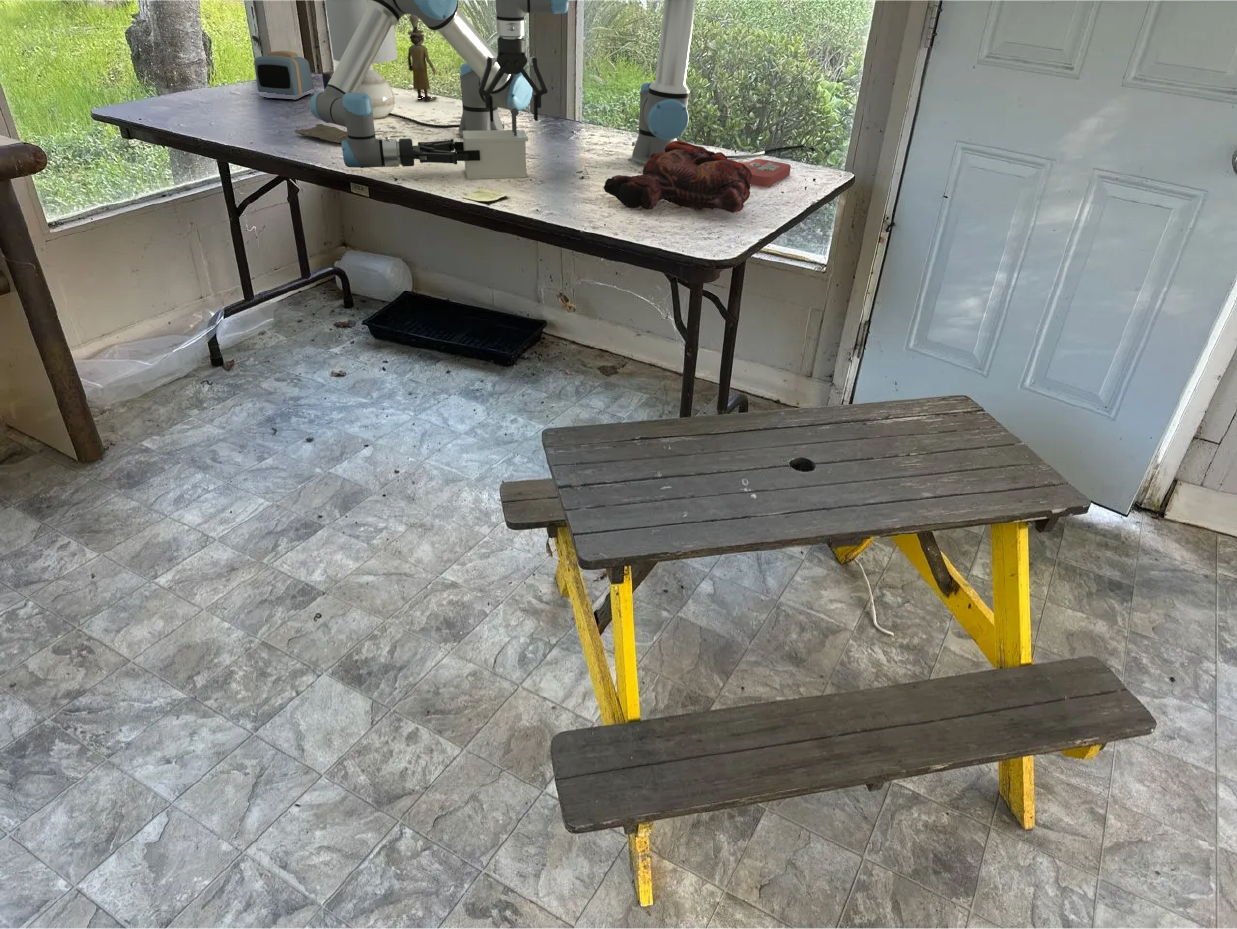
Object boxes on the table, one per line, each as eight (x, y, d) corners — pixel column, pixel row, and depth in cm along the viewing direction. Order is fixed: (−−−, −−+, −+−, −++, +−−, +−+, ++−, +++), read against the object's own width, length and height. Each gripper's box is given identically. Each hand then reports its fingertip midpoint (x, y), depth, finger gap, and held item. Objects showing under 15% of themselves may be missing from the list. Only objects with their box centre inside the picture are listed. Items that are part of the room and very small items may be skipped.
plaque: (748, 154, 263) (793, 162, 256) (746, 167, 265) (791, 175, 258) (722, 166, 250) (769, 175, 244) (721, 179, 252) (767, 189, 246)
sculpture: (769, 218, 227) (775, 169, 218) (687, 248, 212) (691, 197, 203) (663, 172, 252) (665, 126, 244) (583, 196, 237) (582, 148, 229)
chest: (522, 168, 256) (521, 133, 251) (526, 177, 249) (525, 141, 243) (465, 170, 253) (462, 134, 247) (467, 179, 246) (465, 142, 240)
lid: (523, 133, 251) (523, 102, 246) (528, 141, 243) (527, 109, 238) (462, 134, 247) (460, 102, 243) (465, 142, 240) (462, 110, 235)
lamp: (416, 115, 310) (403, -11, 287) (372, 125, 294) (355, -7, 272) (373, 106, 319) (358, -16, 296) (328, 116, 304) (309, -13, 281)
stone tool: (292, 135, 280) (343, 148, 268) (291, 126, 278) (342, 139, 267) (320, 129, 287) (370, 142, 276) (318, 120, 286) (369, 133, 274)
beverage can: (339, 109, 314) (334, 74, 307) (318, 108, 314) (312, 73, 307) (346, 104, 321) (341, 69, 314) (325, 103, 321) (320, 69, 314)
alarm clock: (257, 98, 324) (248, 53, 316) (278, 90, 338) (270, 46, 329) (297, 101, 323) (289, 55, 314) (317, 93, 336) (310, 49, 327)
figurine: (443, 98, 335) (436, 13, 318) (431, 103, 327) (423, 15, 310) (418, 96, 337) (410, 11, 321) (406, 100, 330) (397, 13, 313)
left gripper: (398, 148, 231) (480, 146, 235) (397, 129, 249) (474, 128, 253) (401, 176, 235) (482, 174, 240) (400, 156, 253) (476, 154, 257)
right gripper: (467, 38, 226) (472, 123, 238) (557, 38, 231) (557, 122, 243) (465, 34, 232) (470, 117, 244) (552, 34, 237) (553, 116, 249)
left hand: (478, 150), depth 246 cm, fingers closed on chest, 9 cm apart
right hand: (513, 120), depth 244 cm, fingers open, 12 cm apart
